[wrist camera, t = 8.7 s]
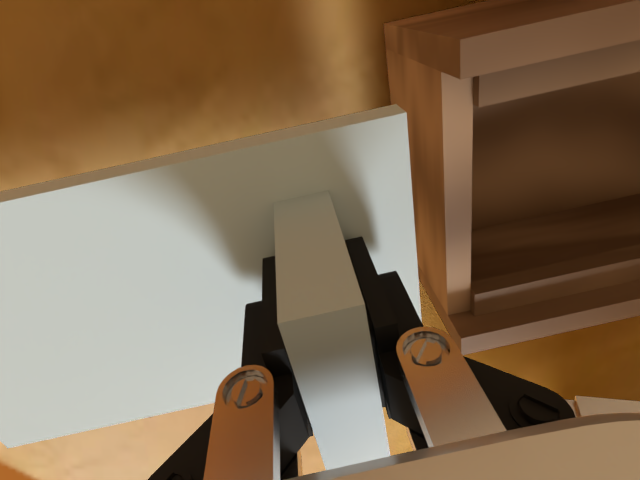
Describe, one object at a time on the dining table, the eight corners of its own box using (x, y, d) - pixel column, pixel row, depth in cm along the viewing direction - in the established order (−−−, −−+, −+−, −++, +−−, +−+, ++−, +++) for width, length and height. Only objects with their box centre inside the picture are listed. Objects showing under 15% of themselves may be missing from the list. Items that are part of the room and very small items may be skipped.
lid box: (704, 185, 24) (883, 260, 17) (404, 252, 24) (461, 355, 17) (792, -68, 17) (1134, -111, 11) (383, 23, 17) (460, 39, 10)
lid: (415, 337, 16) (483, 492, 11) (21, 425, 16) (-91, 618, 11) (395, 103, 11) (500, 190, 6) (-169, 229, 11) (-518, 415, 6)
